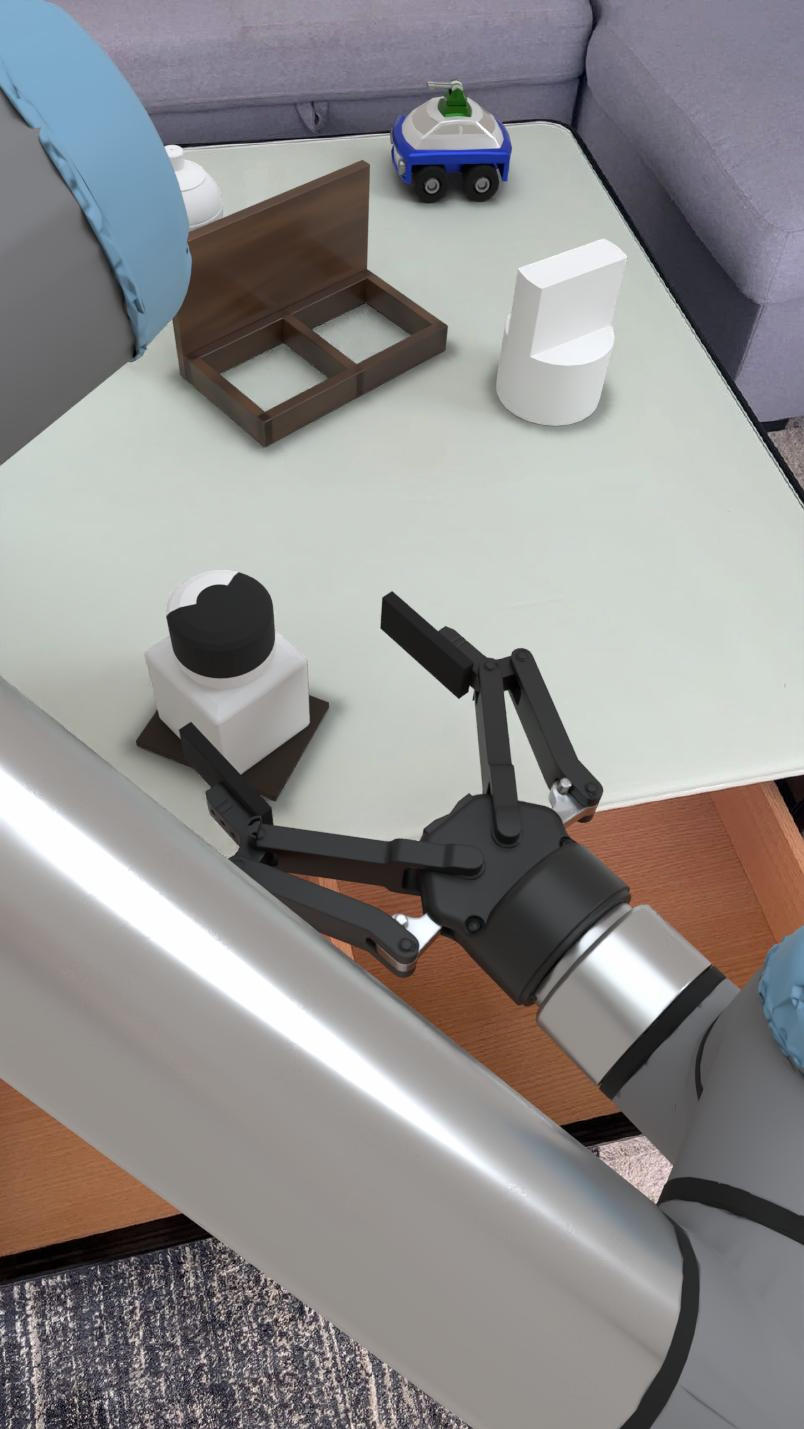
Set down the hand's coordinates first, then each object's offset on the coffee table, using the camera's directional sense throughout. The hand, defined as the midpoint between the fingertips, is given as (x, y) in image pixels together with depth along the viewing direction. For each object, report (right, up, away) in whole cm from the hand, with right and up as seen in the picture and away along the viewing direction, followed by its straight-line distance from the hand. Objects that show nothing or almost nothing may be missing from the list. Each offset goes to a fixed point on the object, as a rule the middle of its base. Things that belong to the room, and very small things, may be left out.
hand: (291, 671), depth 57 cm
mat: (-5, -3, +13) cm, 14 cm away
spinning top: (-14, +38, +41) cm, 57 cm away
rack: (-1, +28, +35) cm, 44 cm away
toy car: (+11, +53, +53) cm, 76 cm away
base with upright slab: (+19, +25, +34) cm, 47 cm away
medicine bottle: (-5, -3, +13) cm, 14 cm away
